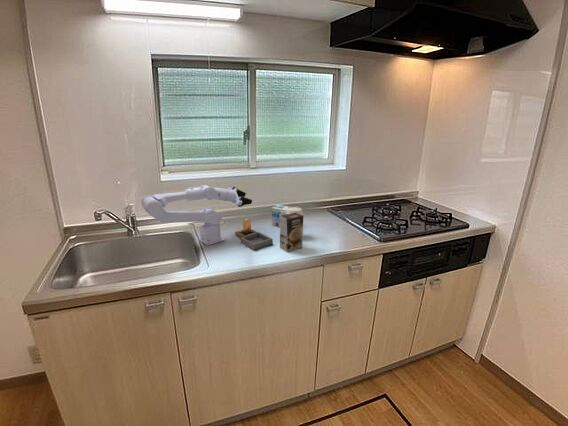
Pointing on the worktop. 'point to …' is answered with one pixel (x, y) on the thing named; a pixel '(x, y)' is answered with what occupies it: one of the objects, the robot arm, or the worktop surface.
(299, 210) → the supplement can
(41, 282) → the worktop surface
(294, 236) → the coffee box
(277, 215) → the light bulb box
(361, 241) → the worktop surface
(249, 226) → the cell
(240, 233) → the brown square shallow dish
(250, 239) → the tray
